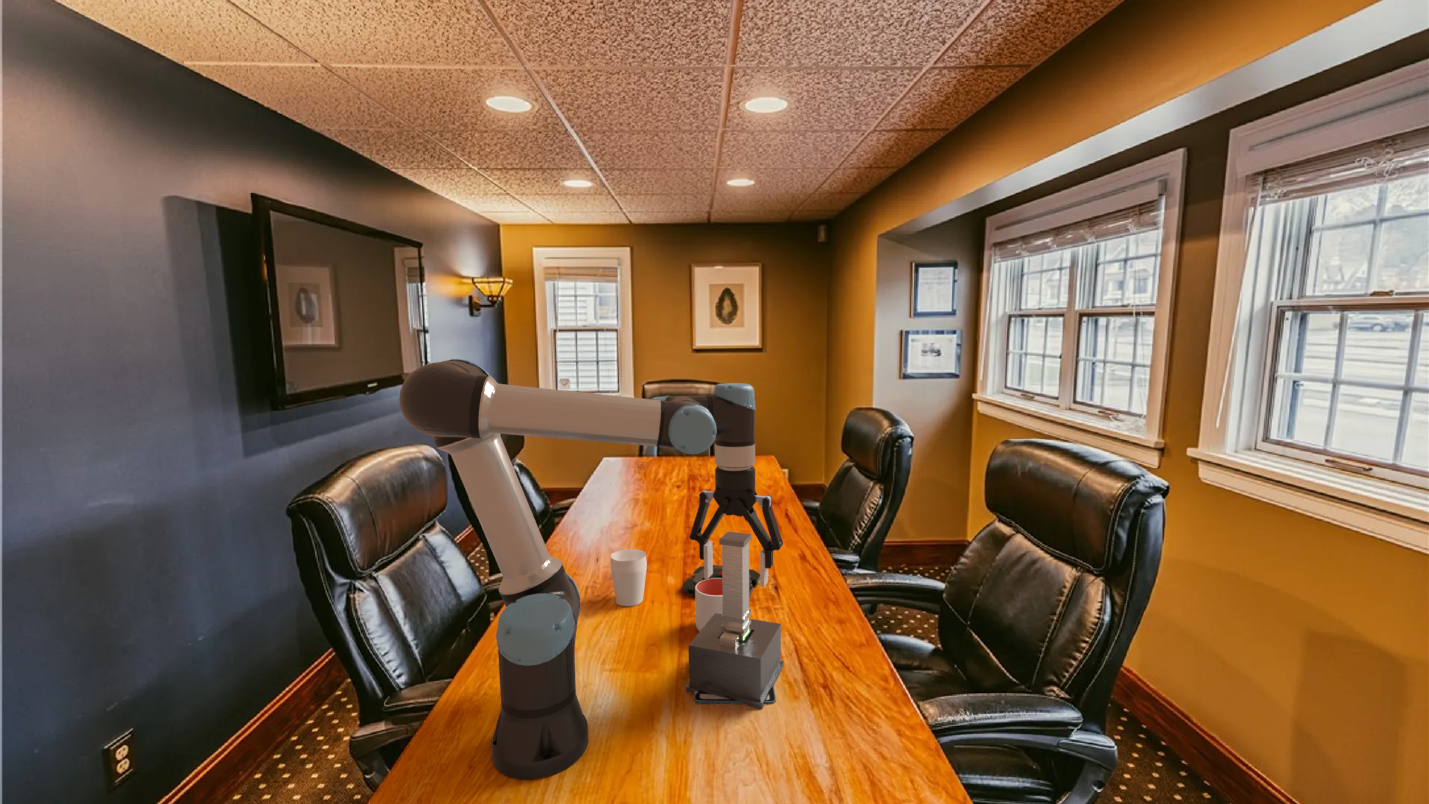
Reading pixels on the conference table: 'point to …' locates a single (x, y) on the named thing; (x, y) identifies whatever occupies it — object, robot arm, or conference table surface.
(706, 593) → the cup
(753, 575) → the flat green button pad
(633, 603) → the cup
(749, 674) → the housing
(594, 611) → the conference table surface
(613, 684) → the conference table surface
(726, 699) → the smartphone
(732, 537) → the column
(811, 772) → the conference table surface
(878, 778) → the conference table surface
